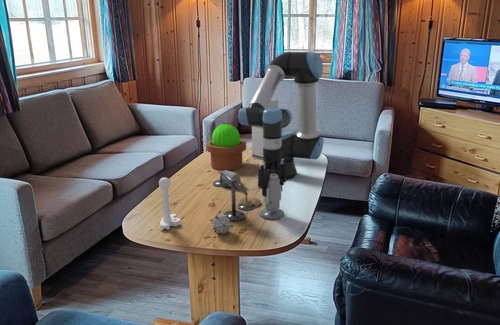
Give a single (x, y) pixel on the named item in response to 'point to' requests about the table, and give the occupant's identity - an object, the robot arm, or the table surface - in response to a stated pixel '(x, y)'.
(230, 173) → the ceramic mug
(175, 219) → the white mechanical bracket
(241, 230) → the table surface
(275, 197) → the energy drink can
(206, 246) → the table surface
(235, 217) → the balance
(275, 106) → the stacked white blocks
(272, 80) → the robot arm
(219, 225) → the game die
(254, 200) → the pink disc
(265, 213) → the grey round disc
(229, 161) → the potted cactus
